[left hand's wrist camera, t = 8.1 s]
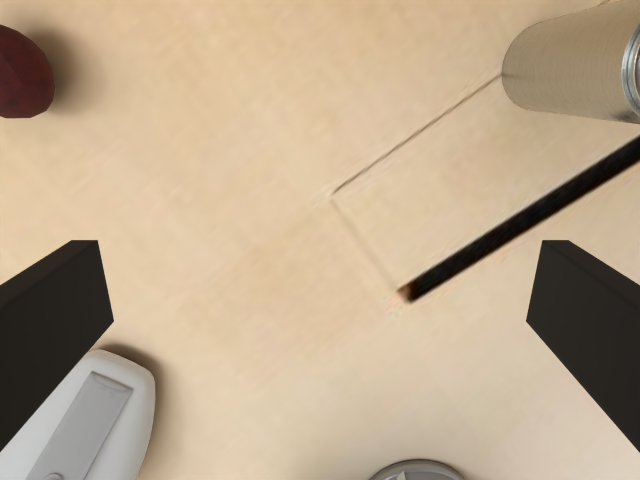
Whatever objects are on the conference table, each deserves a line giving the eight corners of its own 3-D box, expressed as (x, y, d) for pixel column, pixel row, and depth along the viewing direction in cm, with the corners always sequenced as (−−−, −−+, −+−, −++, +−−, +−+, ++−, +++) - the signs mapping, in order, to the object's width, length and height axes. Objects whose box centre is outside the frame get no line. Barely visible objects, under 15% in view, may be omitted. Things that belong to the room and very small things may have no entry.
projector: (210, 466, 56) (174, 590, 42) (60, 502, 58) (-20, 630, 45) (136, 332, 49) (65, 430, 35) (-33, 380, 51) (-162, 489, 37)
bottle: (592, 90, 39) (878, 98, 19) (512, 123, 40) (703, 163, 20) (577, 5, 37) (887, -89, 17) (492, 43, 38) (687, -3, 18)
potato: (26, 11, 37) (-38, -5, 30) (89, 88, 39) (42, 89, 32) (-29, 61, 38) (-102, 56, 32) (34, 133, 40) (-21, 142, 34)
